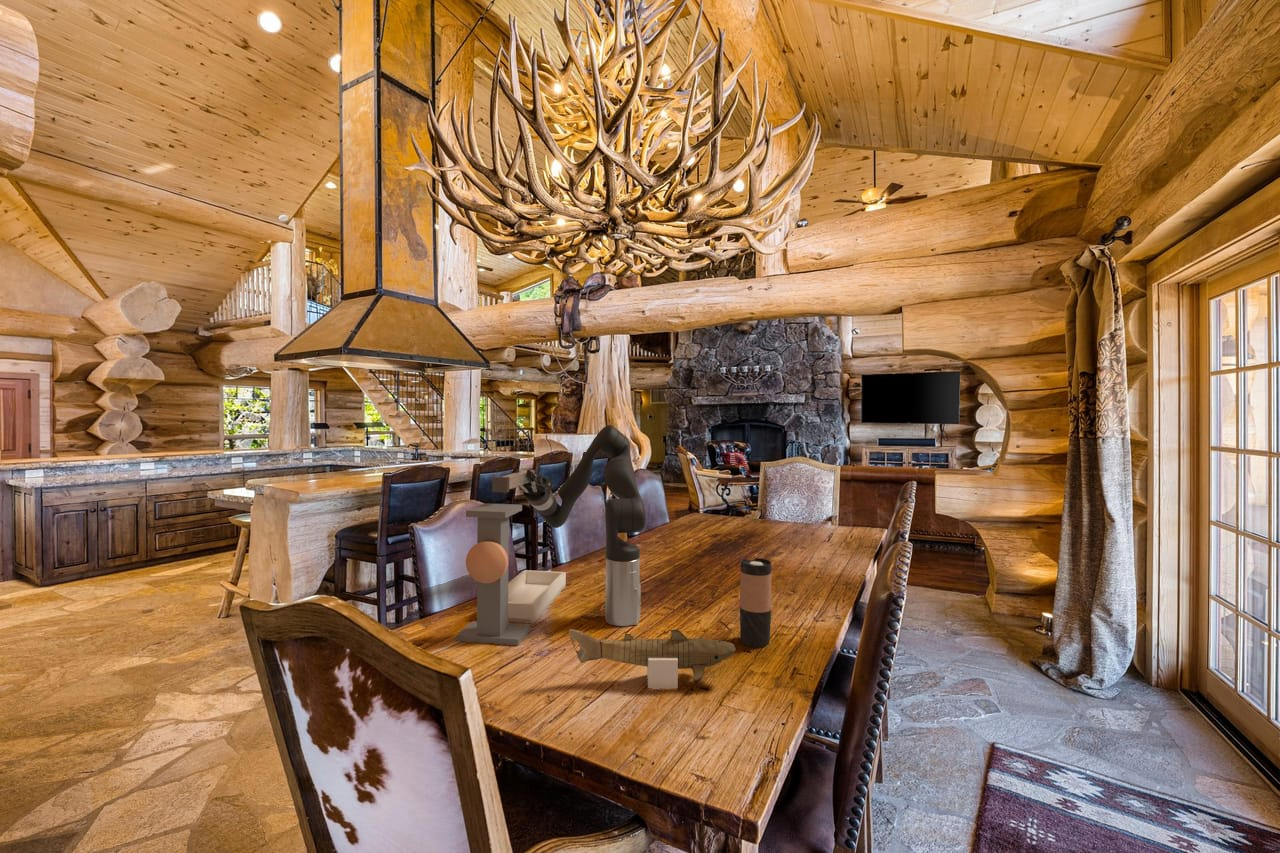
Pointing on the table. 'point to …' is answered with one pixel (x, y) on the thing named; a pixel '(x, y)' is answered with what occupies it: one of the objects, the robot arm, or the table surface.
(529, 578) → the off-white tray
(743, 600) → the travel mug
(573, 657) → the table surface
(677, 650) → the wood carving
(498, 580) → the stand
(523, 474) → the grey brown long block
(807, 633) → the table surface
